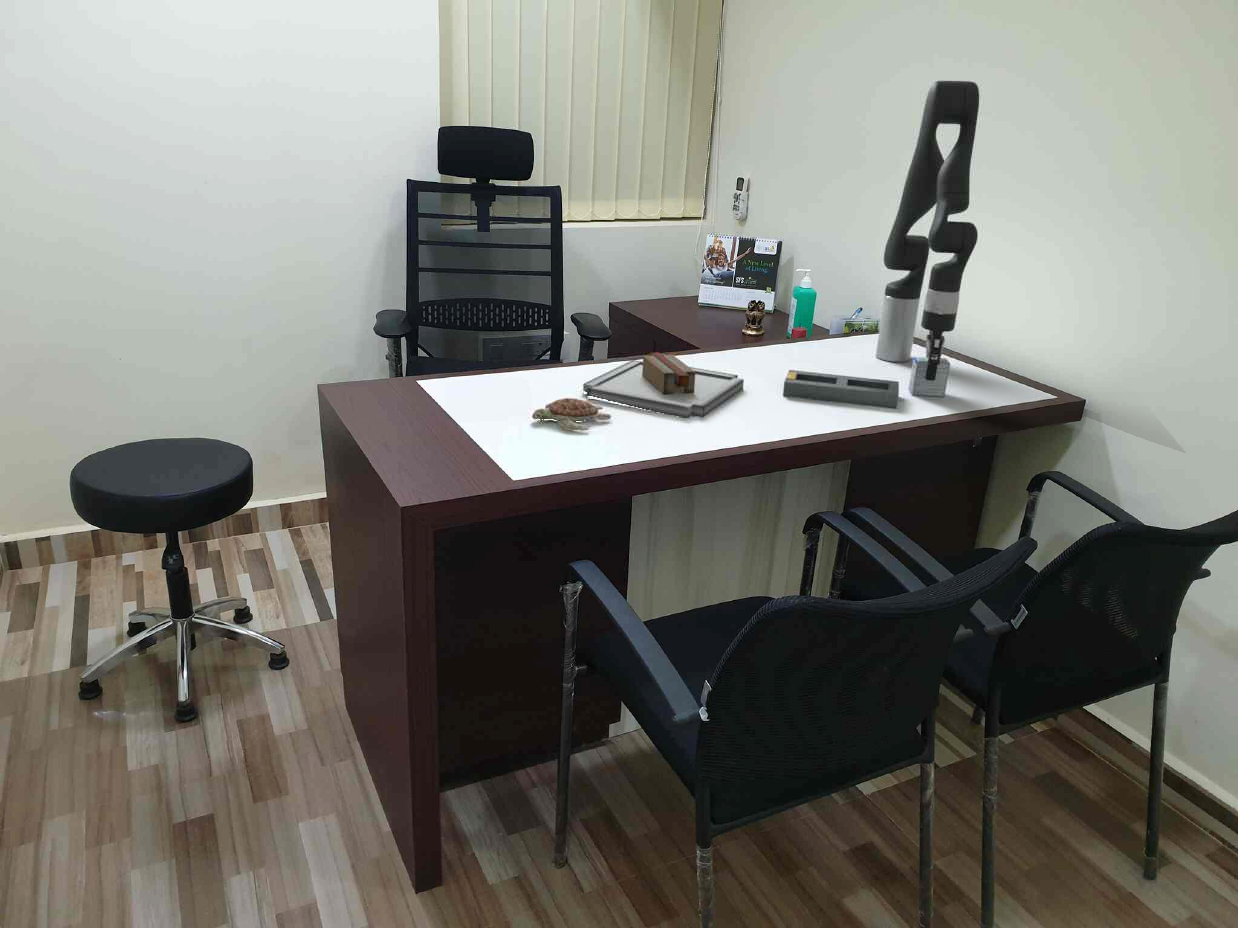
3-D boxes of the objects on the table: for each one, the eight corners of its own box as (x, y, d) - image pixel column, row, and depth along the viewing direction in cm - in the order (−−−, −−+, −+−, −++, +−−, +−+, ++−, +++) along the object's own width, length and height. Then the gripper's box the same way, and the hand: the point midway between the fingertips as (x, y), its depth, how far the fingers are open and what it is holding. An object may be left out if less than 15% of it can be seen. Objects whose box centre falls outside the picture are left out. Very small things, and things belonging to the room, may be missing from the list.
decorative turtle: (521, 411, 200) (521, 389, 198) (593, 405, 206) (593, 383, 204) (544, 439, 184) (544, 415, 182) (621, 432, 190) (622, 409, 188)
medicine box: (940, 392, 224) (946, 358, 220) (944, 397, 219) (951, 362, 216) (907, 390, 224) (913, 356, 221) (911, 395, 220) (917, 360, 217)
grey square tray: (577, 399, 210) (578, 368, 207) (636, 369, 235) (637, 341, 232) (697, 423, 197) (700, 390, 194) (746, 389, 222) (749, 359, 219)
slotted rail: (787, 383, 226) (789, 369, 224) (896, 395, 219) (898, 380, 218) (782, 396, 216) (784, 381, 214) (896, 409, 210) (898, 393, 208)
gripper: (923, 301, 221) (912, 366, 227) (924, 313, 209) (913, 381, 215) (955, 304, 220) (944, 369, 226) (959, 316, 207) (947, 385, 213)
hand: (929, 375), depth 220 cm, fingers open, 8 cm apart
